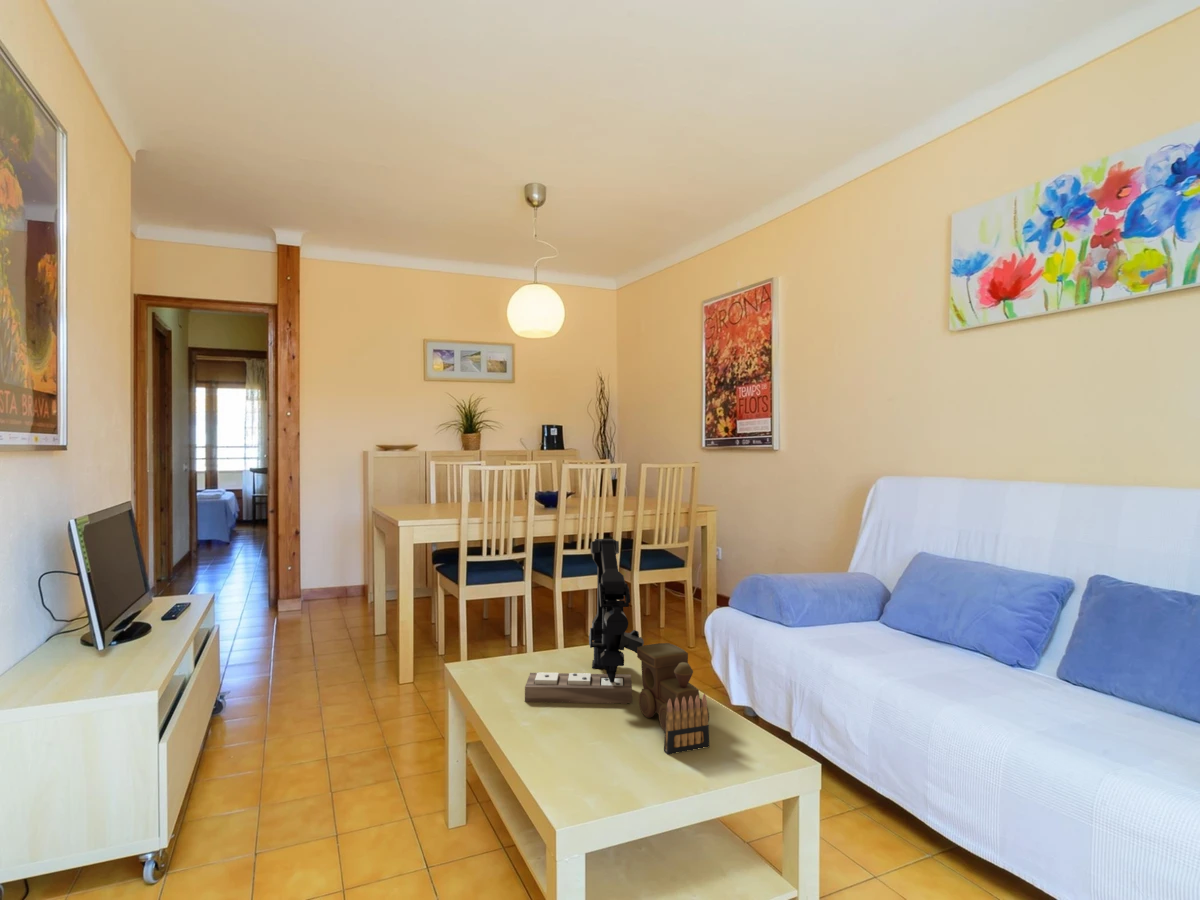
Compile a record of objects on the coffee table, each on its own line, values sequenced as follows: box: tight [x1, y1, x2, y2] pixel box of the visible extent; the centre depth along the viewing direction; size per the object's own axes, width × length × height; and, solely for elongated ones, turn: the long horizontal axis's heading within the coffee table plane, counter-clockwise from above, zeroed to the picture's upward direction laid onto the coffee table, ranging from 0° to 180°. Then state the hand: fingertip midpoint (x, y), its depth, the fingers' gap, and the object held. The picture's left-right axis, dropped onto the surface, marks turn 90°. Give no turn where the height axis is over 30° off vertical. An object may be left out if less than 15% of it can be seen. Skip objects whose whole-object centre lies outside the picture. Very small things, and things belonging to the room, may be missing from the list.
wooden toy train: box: [636, 642, 710, 732], centre depth 161 cm, size 20×11×17 cm, turn 24°
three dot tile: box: [601, 678, 623, 686], centre depth 177 cm, size 6×6×3 cm
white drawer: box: [535, 671, 560, 684], centre depth 177 cm, size 6×6×3 cm
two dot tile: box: [568, 672, 592, 685], centre depth 177 cm, size 6×6×3 cm
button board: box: [524, 672, 633, 705], centre depth 177 cm, size 11×29×4 cm, turn 89°
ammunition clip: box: [663, 693, 710, 755], centre depth 146 cm, size 11×2×12 cm, turn 110°
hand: (612, 681), depth 177 cm, fingers closed, pressing on three dot tile
